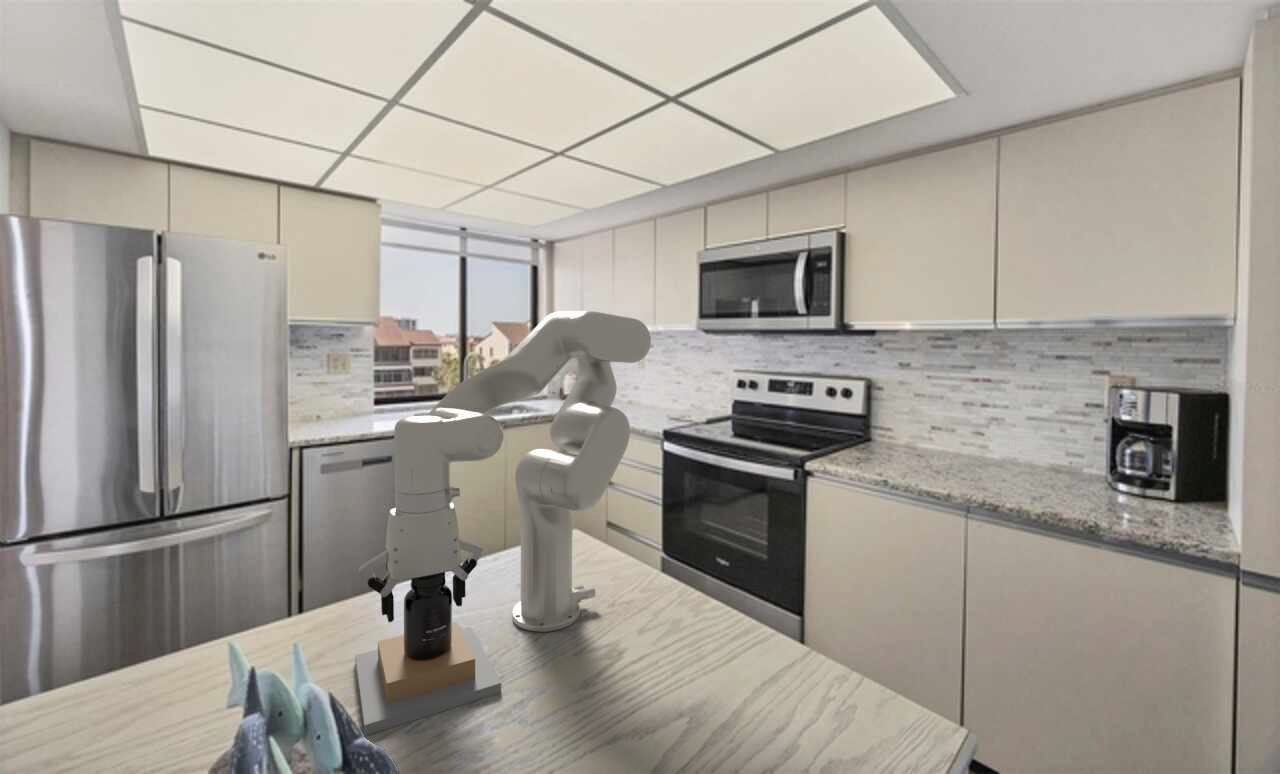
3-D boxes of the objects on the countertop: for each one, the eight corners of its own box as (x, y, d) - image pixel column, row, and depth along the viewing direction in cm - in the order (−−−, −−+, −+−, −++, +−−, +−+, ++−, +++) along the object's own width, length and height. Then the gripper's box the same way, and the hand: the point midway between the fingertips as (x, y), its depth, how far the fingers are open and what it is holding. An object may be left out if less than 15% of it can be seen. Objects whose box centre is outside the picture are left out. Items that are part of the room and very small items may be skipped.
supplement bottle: (435, 665, 79) (434, 585, 78) (394, 658, 81) (392, 580, 79) (460, 639, 86) (460, 566, 85) (422, 634, 87) (420, 561, 86)
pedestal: (470, 634, 96) (470, 609, 95) (501, 692, 80) (501, 663, 80) (355, 664, 86) (354, 636, 86) (364, 736, 71) (364, 703, 71)
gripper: (475, 486, 89) (476, 587, 90) (355, 500, 80) (358, 612, 81) (488, 498, 82) (488, 607, 84) (359, 515, 73) (362, 637, 75)
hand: (424, 610), depth 82 cm, fingers open, 9 cm apart
